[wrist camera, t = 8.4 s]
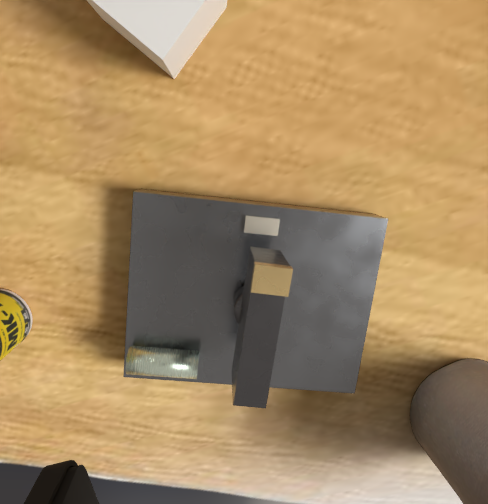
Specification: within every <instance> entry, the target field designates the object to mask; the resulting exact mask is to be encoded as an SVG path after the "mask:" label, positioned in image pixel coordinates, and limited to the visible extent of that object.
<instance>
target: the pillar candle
mask: <svg viewBox="0 0 488 504" xmlns="http://www.w3.org/2000/svg"><path fill="white" fill-rule="evenodd" d="M410 420H411V425H412V431H413V434H414V435H415V437H416V439H417V441H418V442H419V444H420V445H421V446H422V447H423V449H424V450H425V451H426V453H427V454H428V456H429V457H430V458H431V460H432V461H433V463H434V464H435V465H436V466H437V468H438V469H439V470H440V472H441V473H442V475H443V476H444V477H445V479H446V480H447V481H448V483H449V484H450V486H451V487H452V488H453V489H454V491H455V492H456V494H457V495H458V496H459V498H460V499H461V501H462V502H463V504H488V362H487V361H484V360H479V359H463V360H459V361H457V362H454V363H452V364H450V365H447V366H445V367H443V368H441V369H439V370H437V371H436V372H434V373H432V374H431V375H429V376H428V377H427V378H426V379H425V380H424V381H423V382H422V383H421V384H420V386H419V388H418V389H417V391H416V393H415V395H414V397H413V399H412V403H411V408H410Z"/></svg>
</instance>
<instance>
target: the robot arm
mask: <svg viewBox="0 0 488 504" xmlns="http://www.w3.org/2000/svg"><path fill="white" fill-rule="evenodd" d="M24 504H99V502H98V500H97V497H96V495H95V492H94V490H93V487H92V484H91V481H90V479H89V476H88V473H87V471H86V469H85V467H84V466H83V465H79V466H78V465H77V463H76V462H75V461H74V460H69V461H65V462H61V463H57V464H53V465H48V466H46V467H44V468H43V470H42V472H41V473H40V475H39V477H38V478H37V480H36V482H35V484H34V486H33V488H32V490H31V492H30V493H29V495H28V497H27V499H26V501H25V502H24Z"/></svg>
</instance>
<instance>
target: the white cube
mask: <svg viewBox="0 0 488 504" xmlns="http://www.w3.org/2000/svg"><path fill="white" fill-rule="evenodd" d="M87 1H88V3H89V4H90V5H91V6H92V7H93V8H94V10H95V11H96V12H97V13H98V14H99V15H100V17H101V18H102V19H103V20H104V21H105V22H107V23H108V24H109V25H110V26H111V27H113V28H114V29H115V30H116V31H117V32H119V33H120V34H121V35H122V36H123V37H125V38H126V39H127V40H128V41H129V42H131V43H132V44H133V45H134V46H135V47H136V48H138V49H139V50H140V51H141V52H142V53H144V54H145V55H146V56H147V57H148V58H150V59H151V60H152V61H153V62H154V63H156V64H157V65H158V66H159V67H160V68H162V69H163V70H164V71H165V72H166V73H167V74H169V75H170V76H171V77H172V78H173V79H175V77H176V76H177V75H178V73H179V72H180V71H181V69H182V68H183V66H184V65H185V64H186V62H187V61H188V60H189V58H190V57H191V55H192V54H193V53H194V51H195V50H196V49H197V47H198V46H199V44H200V43H201V42H202V40H203V39H204V38H205V36H206V35H207V33H208V32H209V31H210V29H211V28H212V27H213V25H214V24H215V22H216V21H217V20H218V18H219V17H220V16H221V14H222V13H223V11H224V10H225V9H226V7H227V0H87Z"/></svg>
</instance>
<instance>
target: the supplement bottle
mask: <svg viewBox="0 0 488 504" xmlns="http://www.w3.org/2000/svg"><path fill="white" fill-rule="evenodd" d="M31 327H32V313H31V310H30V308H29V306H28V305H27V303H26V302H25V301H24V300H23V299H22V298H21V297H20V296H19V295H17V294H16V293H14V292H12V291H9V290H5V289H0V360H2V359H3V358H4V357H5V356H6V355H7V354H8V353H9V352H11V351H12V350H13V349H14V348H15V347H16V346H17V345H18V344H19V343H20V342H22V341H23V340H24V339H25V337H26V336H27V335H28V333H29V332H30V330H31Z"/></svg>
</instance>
